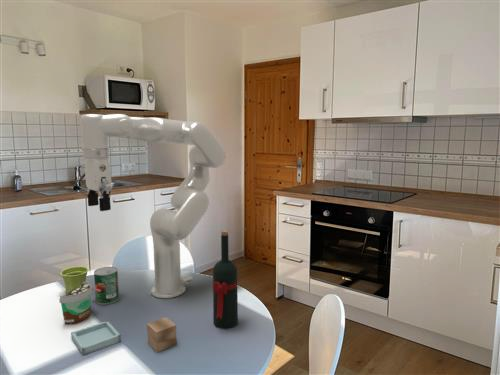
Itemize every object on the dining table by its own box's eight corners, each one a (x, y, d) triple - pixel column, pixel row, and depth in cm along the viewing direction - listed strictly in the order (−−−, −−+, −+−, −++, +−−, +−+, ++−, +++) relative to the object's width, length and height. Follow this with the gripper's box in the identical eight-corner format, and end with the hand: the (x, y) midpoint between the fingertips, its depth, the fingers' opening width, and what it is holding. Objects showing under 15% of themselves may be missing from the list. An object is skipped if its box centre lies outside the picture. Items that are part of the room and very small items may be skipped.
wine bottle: (206, 330, 116) (204, 236, 111) (218, 315, 126) (216, 227, 121) (231, 334, 114) (230, 238, 109) (241, 318, 124) (240, 228, 119)
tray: (107, 326, 119) (107, 320, 118) (120, 341, 111) (120, 335, 110) (71, 338, 112) (71, 332, 112) (82, 355, 104) (82, 348, 104)
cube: (166, 335, 114) (165, 317, 113) (176, 344, 109) (175, 325, 108) (147, 343, 110) (146, 323, 109) (157, 352, 106) (156, 332, 105)
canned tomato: (90, 302, 135) (88, 273, 133) (106, 293, 142) (104, 265, 140) (109, 306, 132) (107, 276, 130) (123, 296, 139) (122, 268, 138)
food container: (79, 328, 118) (76, 298, 116) (61, 326, 119) (58, 296, 117) (102, 309, 130) (100, 282, 128) (85, 308, 131) (83, 280, 129)
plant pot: (81, 285, 149) (79, 264, 148) (95, 291, 144) (93, 269, 142) (57, 294, 142) (55, 271, 140) (71, 300, 136) (69, 277, 135)
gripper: (119, 155, 115) (122, 210, 118) (97, 152, 128) (100, 202, 131) (94, 156, 110) (97, 214, 113) (73, 153, 123) (77, 205, 126)
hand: (99, 207), depth 122 cm, fingers open, 9 cm apart
